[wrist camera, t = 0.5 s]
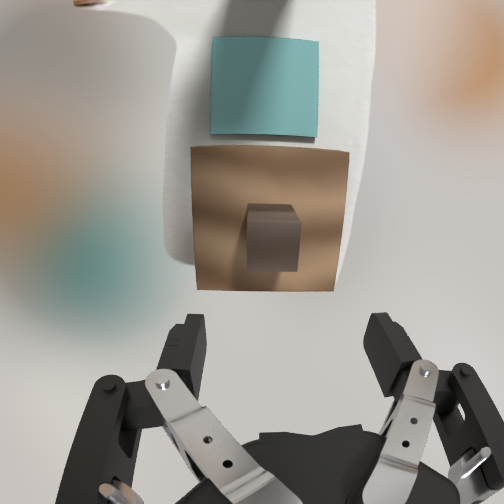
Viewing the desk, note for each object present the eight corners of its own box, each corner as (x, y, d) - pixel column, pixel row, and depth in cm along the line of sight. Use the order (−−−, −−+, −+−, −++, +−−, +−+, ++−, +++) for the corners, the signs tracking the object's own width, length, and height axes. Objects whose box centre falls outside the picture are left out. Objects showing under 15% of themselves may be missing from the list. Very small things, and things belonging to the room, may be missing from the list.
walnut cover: (197, 145, 28) (173, 150, 19) (338, 150, 28) (374, 158, 19) (202, 274, 33) (186, 323, 25) (326, 276, 34) (348, 324, 25)
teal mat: (213, 39, 33) (212, 37, 32) (316, 43, 33) (318, 41, 32) (211, 134, 39) (210, 133, 38) (315, 137, 39) (317, 137, 38)
